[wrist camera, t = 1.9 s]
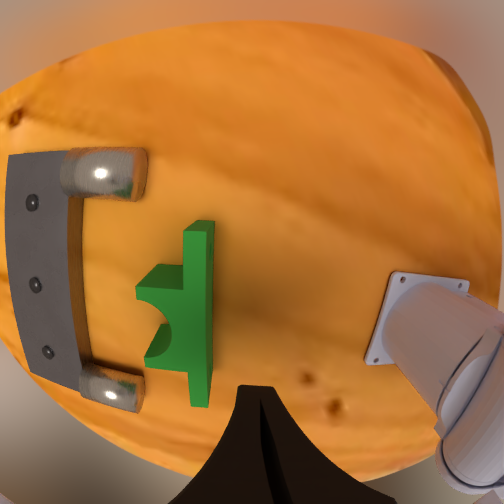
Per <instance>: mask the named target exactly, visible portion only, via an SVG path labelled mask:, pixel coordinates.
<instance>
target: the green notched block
mask: <svg viewBox="0 0 504 504" xmlns="http://www.w3.org/2000/svg"><path fill="white" fill-rule="evenodd" d="M214 224H215V221H202V220H197V221H195V222H194V223H193V224H191V225H190V226H189V227H188V228H186V229H185V230H184V231H183V265H166V264H157V265H156V266H155V267H154V268H153V269H152V270H151V271H150V272H149V273H148V274H147V275H146V276H145V277H144V278H143V279H142V280H141V281H140V282H139V283H138V284H137V285H136V298H137V300H142V301H145V302H148V303H150V304H152V305H153V306H155V307H156V308H157V309H159V310H160V311H161V312H162V313H163V314H164V316H165V317H166V319H167V320H168V322H169V324H161V325H160V327H159V329H158V331H157V333H156V335H155V337H154V339H153V341H152V342H151V344H150V346H149V348H148V350H147V352H146V354H145V356H144V361H145V367H148V368H155V369H163V370H171V371H181V372H188V382H189V393H190V403H191V406H192V407H204V408H208V404H209V396H210V388H211V379H212V371H213V347H212V309H213V253H214Z"/></svg>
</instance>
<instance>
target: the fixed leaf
mask: <svg viewBox="0 0 504 504" xmlns="http://www.w3.org/2000/svg"><path fill="white" fill-rule="evenodd" d="M147 169H148V163H147V155H146V152H145V150H144V149H143V148H134V147H83V148H72V149H71V150H69V151H49V152H35V153H24V154H14V155H9V158H8V166H7V176H6V191H5V243H6V257H7V268H8V276H9V284H10V291H11V297H12V302H13V308H14V313H15V318H16V322H17V327H18V331H19V335H20V339H21V342H22V346H23V349H24V353H25V356H26V360H27V363H28V366H29V369H30V372H32V373H34V374H36V375H38V376H41V377H43V378H45V379H48V380H50V381H52V382H55V383H57V384H60V385H62V386H65V387H67V388H70V389H73V390H75V391H78V392H80V394H81V395H82V397H83V398H86V399H89V400H92V401H95V402H98V403H101V404H104V405H108V406H111V407H115V408H118V409H122V410H125V411H129V412H133V413H139V412H140V410H141V408H142V405H143V401H144V395H145V381H144V378H143V377H142V376H138V375H134V374H130V373H125V372H121V371H117V370H114V369H110V368H106V367H102V366H99V365H95V364H93V359H92V353H91V347H90V341H89V334H88V327H87V319H86V311H85V300H84V288H83V270H82V216H83V198H92V199H106V200H118V201H130V202H137V201H138V200H139V199H140V197H141V196H142V194H143V191H144V188H145V184H146V179H147Z"/></svg>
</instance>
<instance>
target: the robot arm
mask: <svg viewBox="0 0 504 504" xmlns="http://www.w3.org/2000/svg"><path fill="white" fill-rule="evenodd" d="M401 277H403V279H402V281H400V279H401ZM458 285H459V286H458ZM468 289H469V281H467V280H464V279H456V278H448V277H440V276H432V275H423V274H415V273H407V272H399V271H396V272H394V273H392V275H391V277H390V280H389V284H388V288H387V292H386V295H385V299H384V302H383V305H382V309H381V312H380V315H379V319H378V322H377V325H376V328H375V331H374V334H373V337H372V340H371V342H370V345H369V348H368V351H367V354H366V356H365V359H364V361H365V363H366V364H367V365H383V364H396V365H397V366H398V368H399V369H400V370H401V371H402V373H403V374H404V375H405V376H406V378H407V379H408V380H409V381H410V383H411V384H412V385H413V386H414V388H415V389H416V390H417V391H418V393H419V394H420V395H421V396H422V398H423V399H424V400H425V401H426V403H427V404H428V405H429V407H430V408H431V409H432V410H433V412H434V413H435V414H436V416H437V417H438V421H437V423H436V425H435V426H434V429H435V431H436V432H437V433H438V435H439V436H440V438H441V439H440V441H439V443H438V445H437V448H436V452H435V459H436V465H437V468H438V470H439V472H440V475H441V476H442V478H443V479H444V480H445V481H446V482H447V484H448V485H450V486H451V487H453V488H454V489H456V490H458V491H459V492H463V493H466V494H485V495H484V496H482V497H481V498H480V499H478V500H477V501H476V502H474V503H473V504H503V503H502V502H501V500H500V499H499V498H501V499H504V313H502V312H501V311H499V310H497V309H496V308H494V307H492V306H490V305H489V304H487V303H485V302H483V301H482V300H480V299H478V298H476V297H475V296H473V295H471V294H469V293H467V292H468ZM376 358H377V359H376ZM374 359H376V360H374ZM0 504H14V503H13V502H12V501H10V500H9V499H8V498H6V497H5V496H4V495H2V494H1V493H0ZM168 504H397V502H396V501H395V499H394V498H392V497H390V496H387V495H385V494H382V493H380V492H378V491H376V490H374V489H371V488H370V487H368V486H366V485H364V484H363V483H361V482H359V481H357V480H356V479H354V478H353V477H351V476H350V475H349V474H347V473H346V472H344V471H343V470H342V469H340V468H339V467H337V466H336V465H335V464H334V463H333V462H332V461H330V460H329V459H328V458H327V457H326V456H325V455H324V454H323V453H322V452H321V451H320V450H319V449H318V448H317V447H316V446H315V445H314V444H313V443H312V442H311V441H310V440H309V439H308V437H307V436H306V435H305V434H304V433H303V431H302V430H301V429H300V428H299V426H298V425H297V424H296V422H295V421H294V419H293V418H292V417H291V415H290V414H289V412H288V411H287V409H286V408H285V406H284V404H283V403H282V401H281V399H280V398H279V396H278V394H277V392H276V390H275V389H274V388H273V387H270V386H253V385H240V386H238V390H237V396H236V402H235V408H234V410H233V413H232V416H231V418H230V421H229V423H228V425H227V427H226V429H225V431H224V433H223V435H222V437H221V439H220V441H219V443H218V445H217V446H216V448H215V449H214V451H213V453H212V454H211V456H210V457H209V459H208V460H207V461H206V463H205V464H204V466H203V467H202V468H201V470H200V471H199V472H198V473H197V475H196V476H195V477H194V478H193V479H192V480H191V481H190V482H189V484H188V485H187V486H186V487H185V488H184V489H183V490H182V491H181V492H180V493H179V494H178V495H177V496H176V497H175V498H174V499H173V500H171V501H170V502H169V503H168Z"/></svg>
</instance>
